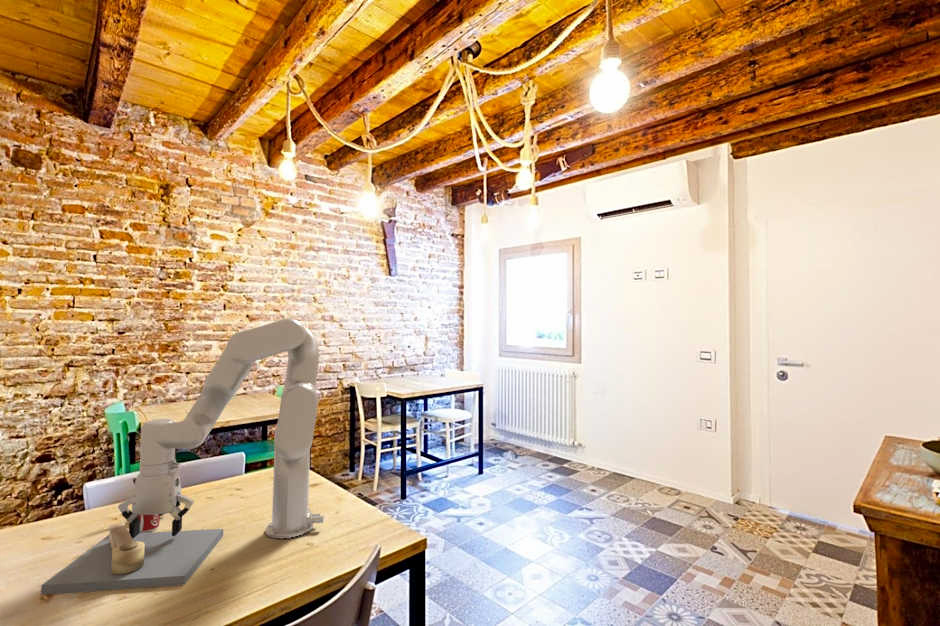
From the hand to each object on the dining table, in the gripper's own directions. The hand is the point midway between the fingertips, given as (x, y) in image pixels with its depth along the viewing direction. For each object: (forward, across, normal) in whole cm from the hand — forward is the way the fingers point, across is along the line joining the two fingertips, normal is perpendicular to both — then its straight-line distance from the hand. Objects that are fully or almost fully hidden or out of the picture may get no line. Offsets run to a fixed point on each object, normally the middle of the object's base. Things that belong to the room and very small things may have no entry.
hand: (155, 535), depth 119 cm
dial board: (+3, -1, +7) cm, 8 cm away
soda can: (+3, +7, -12) cm, 15 cm away
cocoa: (+3, +10, -20) cm, 23 cm away
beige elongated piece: (+1, +4, +8) cm, 9 cm away
